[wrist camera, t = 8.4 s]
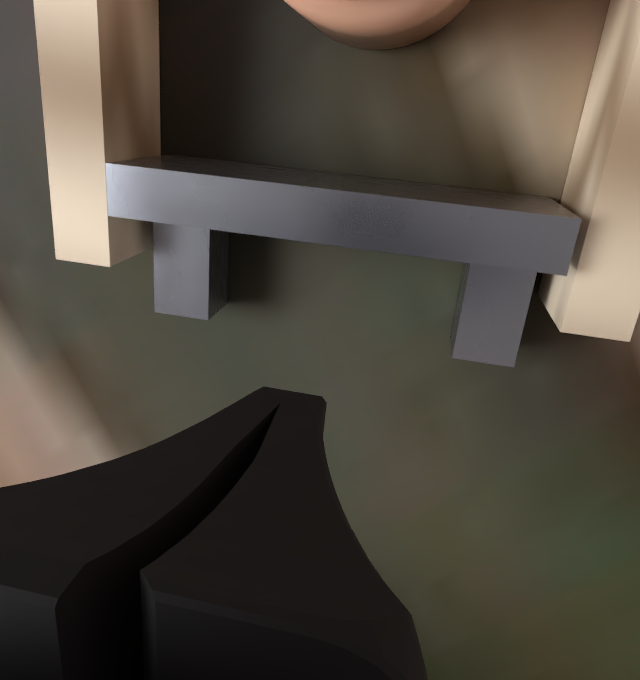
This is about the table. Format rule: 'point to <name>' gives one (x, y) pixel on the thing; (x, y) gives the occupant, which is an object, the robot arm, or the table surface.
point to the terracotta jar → (378, 20)
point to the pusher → (346, 234)
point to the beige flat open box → (145, 141)
